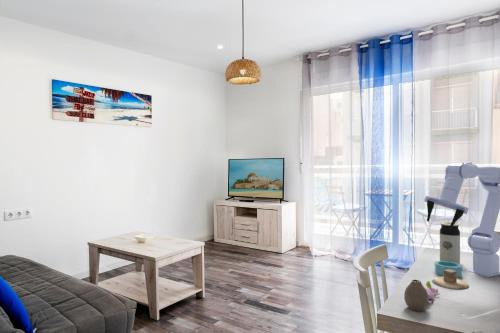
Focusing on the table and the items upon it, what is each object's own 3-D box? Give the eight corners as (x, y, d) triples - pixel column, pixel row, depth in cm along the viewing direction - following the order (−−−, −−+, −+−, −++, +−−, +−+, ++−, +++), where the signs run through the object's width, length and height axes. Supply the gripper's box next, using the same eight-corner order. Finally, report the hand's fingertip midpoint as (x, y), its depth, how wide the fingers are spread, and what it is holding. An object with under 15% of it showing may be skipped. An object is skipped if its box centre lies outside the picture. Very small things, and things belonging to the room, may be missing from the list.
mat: (445, 278, 135) (445, 276, 135) (476, 287, 125) (476, 286, 125) (424, 282, 130) (424, 281, 130) (455, 293, 119) (455, 291, 119)
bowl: (444, 270, 145) (444, 259, 145) (465, 276, 137) (465, 265, 137) (430, 273, 141) (430, 262, 141) (450, 280, 133) (450, 268, 133)
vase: (431, 314, 103) (431, 285, 103) (407, 312, 104) (407, 283, 104) (424, 305, 110) (424, 277, 110) (401, 303, 111) (401, 276, 111)
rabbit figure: (423, 294, 122) (408, 299, 112) (424, 277, 123) (410, 281, 112) (443, 299, 118) (429, 305, 107) (444, 281, 119) (430, 285, 108)
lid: (446, 277, 135) (446, 264, 135) (474, 286, 125) (474, 272, 125) (426, 281, 130) (426, 268, 130) (454, 290, 120) (454, 277, 120)
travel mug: (446, 259, 161) (446, 221, 161) (463, 263, 155) (463, 223, 154) (436, 261, 157) (436, 222, 157) (453, 266, 151) (453, 225, 150)
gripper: (430, 182, 131) (418, 214, 128) (473, 194, 123) (462, 228, 120) (429, 189, 137) (418, 219, 134) (471, 200, 129) (460, 233, 126)
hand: (438, 224), depth 127 cm, fingers open, 7 cm apart
